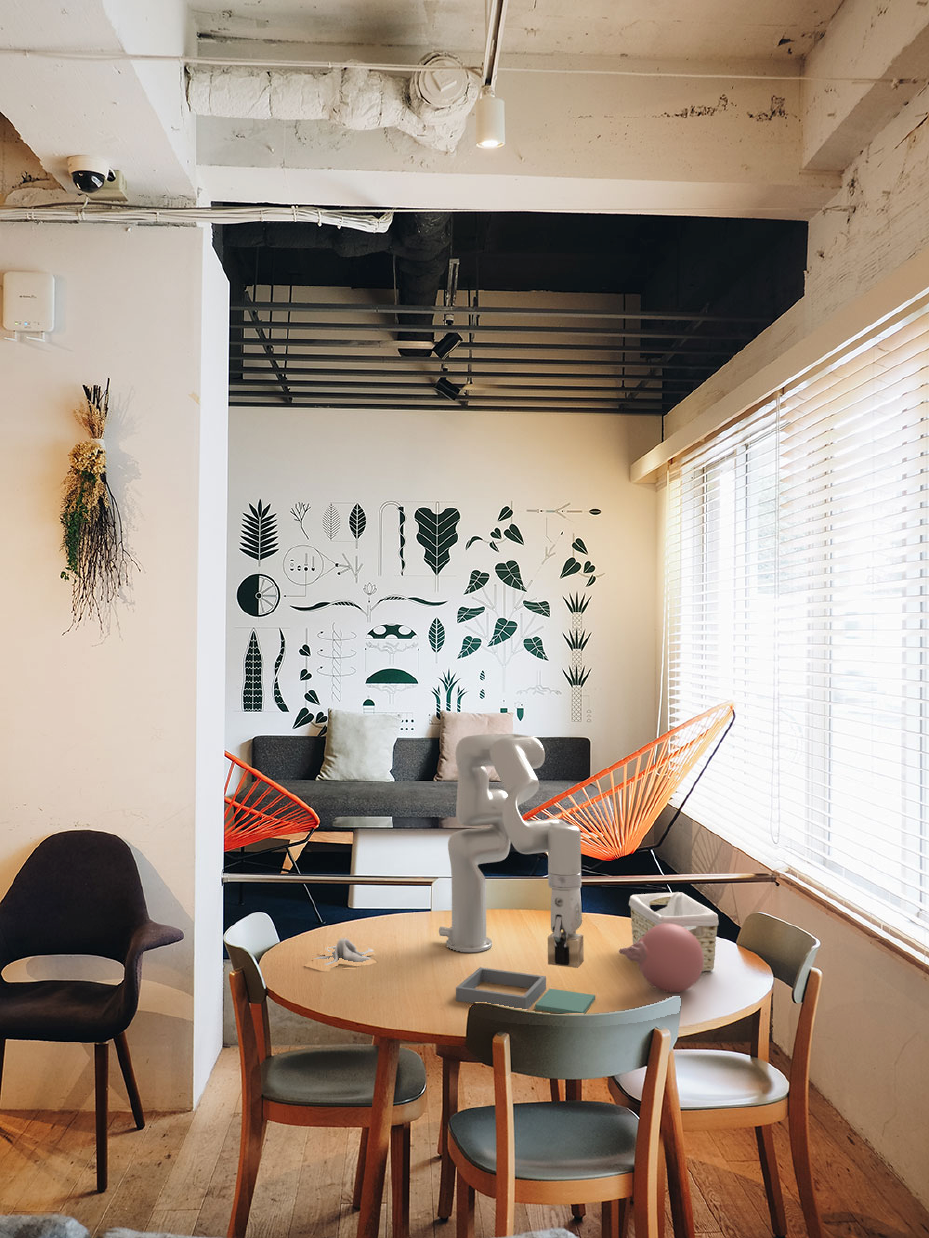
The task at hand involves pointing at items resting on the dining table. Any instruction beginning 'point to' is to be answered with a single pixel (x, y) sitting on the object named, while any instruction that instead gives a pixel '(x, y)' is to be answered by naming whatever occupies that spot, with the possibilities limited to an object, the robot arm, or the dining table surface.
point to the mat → (565, 1001)
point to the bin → (534, 982)
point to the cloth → (346, 952)
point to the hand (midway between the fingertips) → (565, 959)
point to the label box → (574, 950)
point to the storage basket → (676, 919)
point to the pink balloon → (668, 957)
